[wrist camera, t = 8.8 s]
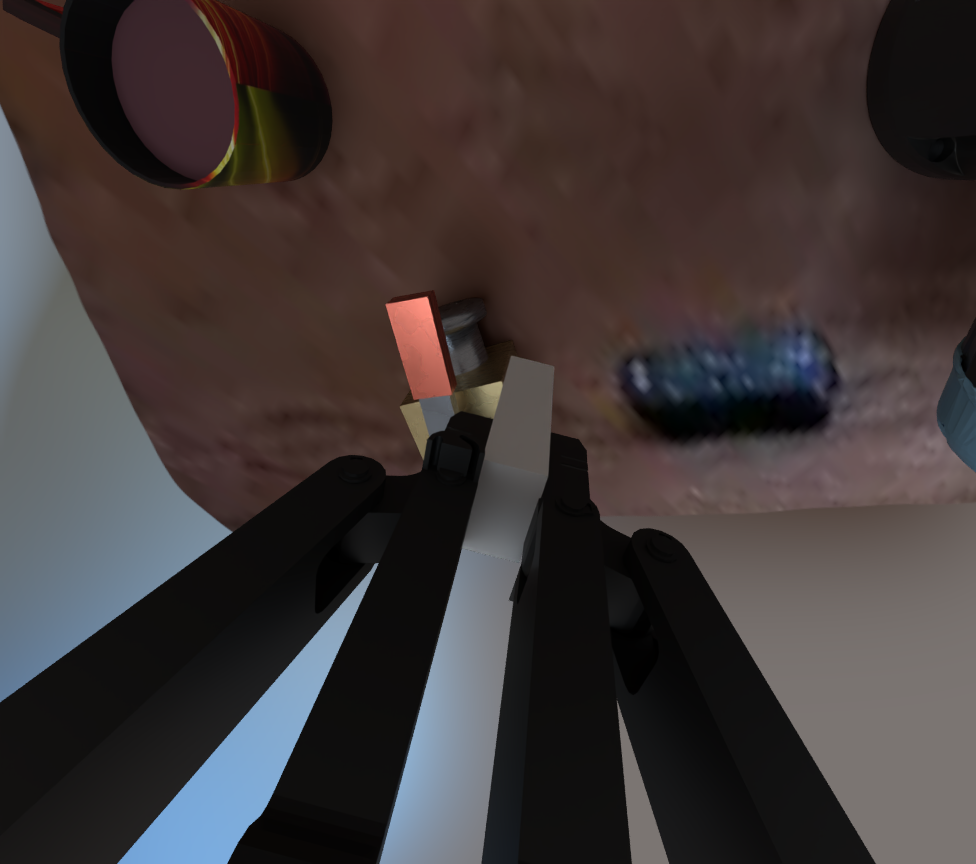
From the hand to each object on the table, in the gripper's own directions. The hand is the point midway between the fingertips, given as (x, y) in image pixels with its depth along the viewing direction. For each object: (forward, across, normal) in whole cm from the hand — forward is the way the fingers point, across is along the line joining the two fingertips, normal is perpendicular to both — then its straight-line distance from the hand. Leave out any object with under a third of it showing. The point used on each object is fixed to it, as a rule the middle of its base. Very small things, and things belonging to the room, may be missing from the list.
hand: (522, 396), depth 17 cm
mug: (+25, -25, +6) cm, 36 cm away
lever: (+16, -5, -8) cm, 18 cm away
